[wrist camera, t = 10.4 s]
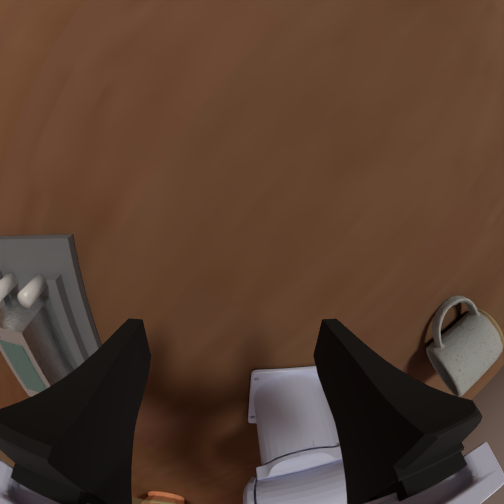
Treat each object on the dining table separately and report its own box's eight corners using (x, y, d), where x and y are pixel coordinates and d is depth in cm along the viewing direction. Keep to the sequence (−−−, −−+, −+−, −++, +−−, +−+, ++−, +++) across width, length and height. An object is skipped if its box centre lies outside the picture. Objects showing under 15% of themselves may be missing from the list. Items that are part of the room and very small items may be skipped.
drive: (79, 370, 23) (63, 407, 18) (46, 363, 22) (28, 396, 17) (49, 297, 19) (21, 333, 14) (14, 293, 18) (-14, 325, 14)
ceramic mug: (476, 326, 27) (508, 361, 20) (431, 366, 28) (458, 406, 21) (467, 274, 23) (512, 312, 16) (412, 323, 25) (451, 373, 17)
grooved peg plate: (125, 401, 26) (118, 427, 22) (44, 384, 25) (34, 405, 21) (72, 234, 18) (47, 255, 14) (-17, 236, 17) (-40, 253, 13)
